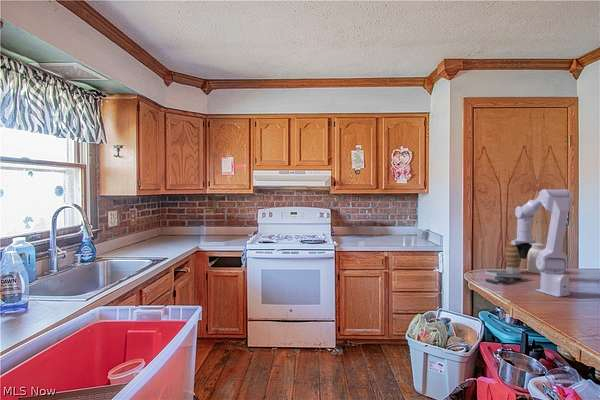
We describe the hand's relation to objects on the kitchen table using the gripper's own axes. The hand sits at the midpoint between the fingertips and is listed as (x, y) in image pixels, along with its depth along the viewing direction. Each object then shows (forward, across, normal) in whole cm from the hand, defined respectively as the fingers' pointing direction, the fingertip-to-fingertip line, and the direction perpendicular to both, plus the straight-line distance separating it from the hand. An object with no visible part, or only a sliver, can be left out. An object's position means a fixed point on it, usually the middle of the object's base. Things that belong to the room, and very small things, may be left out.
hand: (523, 258), depth 168 cm
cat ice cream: (+10, -5, -9) cm, 15 cm away
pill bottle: (+10, -19, -6) cm, 22 cm away
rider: (+7, +7, 0) cm, 10 cm away
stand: (+10, +13, 0) cm, 16 cm away
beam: (+7, +13, 0) cm, 15 cm away
